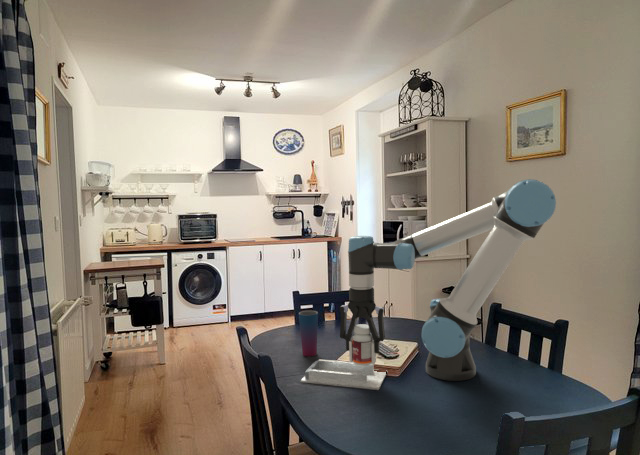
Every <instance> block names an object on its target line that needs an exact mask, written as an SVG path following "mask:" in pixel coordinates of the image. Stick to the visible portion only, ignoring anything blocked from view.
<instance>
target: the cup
mask: <svg viewBox="0 0 640 455" xmlns="http://www.w3.org/2000/svg"><path fill="white" fill-rule="evenodd" d="M318 318H319V312H318V311H316V310H302V311H299V312H298V320H299V330H300V339H301V341H300V342H301V350H302V356H304V357H314V356H316V355H317V353H318V352H317V351H318V350H317V349H318V322H319V321H318V320H319V319H318Z"/></svg>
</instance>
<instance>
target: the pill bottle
mask: <svg viewBox="0 0 640 455" xmlns="http://www.w3.org/2000/svg"><path fill="white" fill-rule="evenodd" d="M353 333H354V334H352V337H351V339H352V349H353V363H354V364H356V365H360V366H366V365H370V364H372V352H371V343H372V342H373V338H372V335H371V332H370V329H369V326H368V324H365V323H362V324H361V323H360V324H355V326H354V330H353Z"/></svg>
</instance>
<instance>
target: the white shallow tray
mask: <svg viewBox="0 0 640 455" xmlns="http://www.w3.org/2000/svg"><path fill="white" fill-rule="evenodd" d="M374 365H375V364H374ZM374 365H372V364H370V365H366V366H360V365H356V364H354V363H353V362H352V363H351V362H349V361H344V360H331V359H320V358H319V359H318V360H315V361H314V362H313V363H311V365H310V366H309V367H308V368H307V369H306V370H305V371H304V376H303V377H302V378H301V379H300V383H303V384H304V383H305V384H313V385H325V386H335V387H343V388H344V387H345V388H354V389H365V390H376V391H379V390H380V389H381V386H382V384H383V383H384V380H385V378H386V377H387V374H386V372H377V371H374V370H375V368H374Z"/></svg>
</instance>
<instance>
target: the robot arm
mask: <svg viewBox="0 0 640 455" xmlns="http://www.w3.org/2000/svg"><path fill="white" fill-rule="evenodd" d="M556 200H557V199H556V196H555V194H554V191H553V189H552V188H550V186H549V185H548V184H545V182H544V181H540V180H537V179H532V178H531V179H530V178H529V179H528V178H527V179H524V180H520V181H518V182H516V183H514V184H513V185H512V186H511V187H510V188H509V189H508V190H506V191H505V192H503V193H501V194H498V195H496V196H494V197H492V199H491V201H490V202H488V203H485V204H483V205H481V206H478V207H475V208H473V209H471V210H469V211H467V212H464V213H460V214H458V215H457V216H454V217H451V218H449V219H447V220H443V221H442V222H441V221H440V222H439V223H437V224H434V225H431V226H429V227H427V228H425V229H421V230H420V231H417V232H415V233H413V234H409V235H408V236H405V237H402V238H398V239H397V240H395V241H393V242H388V243H387V242H380V243H379V242H375V241H374V237H373V236H372V235H354V236H351V237H349V239H348V250H347V256H348V286H349V287H350V288H349V289H348V294H349V295H348V298H349V299H348V300H349V301H348V303H347V304H342V305H341V306H340V307H339V308H338V309H339V312H340V325H339V338H340V339H343V340H345V347H346V348H345V350H346V351H348V352H349V354H348V355H349V357H348V358H349V360H348V362H351V363H352V362H353V349H352V337H353V333H354V326H355V325H357V324H356V323H357V320H358V319H361V318H362V319H365V320H366V322H367V325H368V326H369V329H370V332H371V333H370V334H371V335H372V338H373V342H372V343H371V352H372V365H376V362H377V354H378V353H379V352H380V343H381V342H383V341H384V340H385V339H386V334H385V322H384V321H385V320H384V314H385V313H384V312H385V307H384V306H382V307H380V306H377V305H376V303H375V288H374V285H375V271H374V270H375V269H391V270H399V271H403V270H411V269H413V268H414V265H415V262H416V261H415V260H416V259H418V258H421V257H424V256H426V255H429V254H431V253H434V252H436V251H440V250H442V249H444V248H448V247H450V246H452V245H455V244H457V243H460V242H463V241H466V240H468V239H470V238H474V237H476V236H478V235H481V234H483V233H486V232H489V233H488V234H487V236H486V238H485V240H484V241H483V243H482V244H481V246H480V247H479V248H478V250H477V252H476V253H475V255H474V257H473V258H472V259H471V262H469V264H468V266H467V267H466V269H465V271H464V272H463V274H462V275H461V277H460V278H459V280H458V282H457V283H456V285H455V286H454V288H453V289H452V291H451V293H450V294H449V296H448V297H444V298H434V299H431V300H430V304H429V310H430V314H429V316H428V318H427V320H426V321H425V322H424V324H422V328H421V340H422V343H423V345H424V347H425V349H427V351H428V356H427V359H426V361H425V372H426V374H427V375H429V376H430V377H432V378H435V379H438V380H442V381H450V382H452V381H453V382H458V381H460V382H461V381H468V380H471V379H473V378H475V376H476V375H477V371H476V370H477V366H476V364H475V360H474V358H473V354H472V351H471V349H470V346H471V345H470V344H471V343H470V334H471V333H472V331H474V328H476V326H477V325H478V319H477V318H478V317H477V314H478V312H479V310H480V309H481V308H482V306H483V304H484V303H485V302H486V300H487V299H488V297H489V296H490V294H491V292H492V291H493V289H494V288H495V287H496V285H497V283H498V282H499V280H500V279H501V277H502V276H503V274H505V271H506V270H507V268H508V267H509V266H510V264H511V263H512V261H513V260H514V258H515V256H516V255H517V253H518V252H519V251H520V249H521V248H522V246H523V244H524V243H525V242H526V241H531V240H534V239H535V238H536V236H537V234H538V233H539V232H540V230H541V229H542V227H543V226H544V224H545V223H546V222H548V221H549V220H550V219H551V217H553V215H554V213H555V210H556V207H557V206H556V204H557V201H556ZM348 311H350V312H351V314H352V315H351V319H350V323H349V327H348V330H347V321H348V320H347V317H348ZM374 311H375V313H376V315H377V324H378V326H377V327H378V331H377V328H376V325H375V322H374V319H373V318H374V317H373V315H372V313H374ZM346 332H347V333H346Z"/></svg>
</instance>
